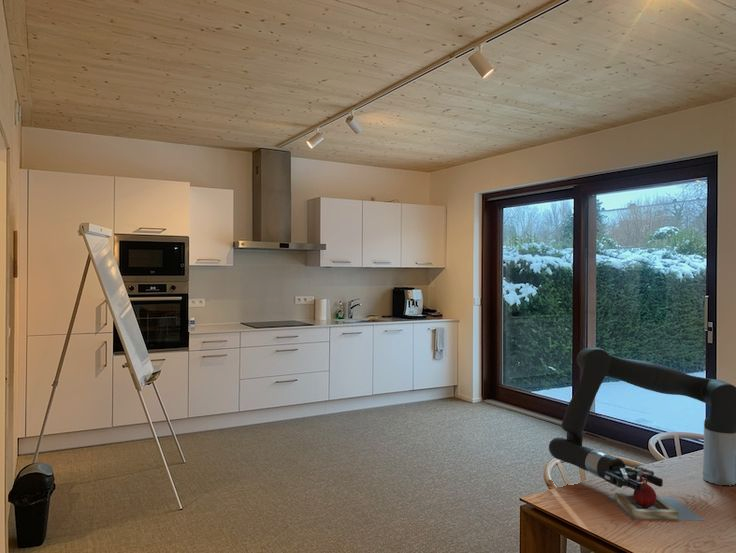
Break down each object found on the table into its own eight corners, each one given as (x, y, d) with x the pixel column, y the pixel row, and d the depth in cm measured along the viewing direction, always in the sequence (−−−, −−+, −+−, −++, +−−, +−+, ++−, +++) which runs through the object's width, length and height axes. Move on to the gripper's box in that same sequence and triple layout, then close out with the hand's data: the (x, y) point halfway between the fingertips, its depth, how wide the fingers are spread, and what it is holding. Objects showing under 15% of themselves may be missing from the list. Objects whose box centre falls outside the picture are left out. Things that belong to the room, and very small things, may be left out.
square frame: (654, 500, 161) (655, 493, 161) (678, 519, 149) (678, 511, 149) (614, 499, 161) (614, 493, 161) (634, 518, 149) (634, 511, 149)
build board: (673, 502, 164) (673, 497, 164) (704, 525, 149) (704, 520, 149) (607, 501, 164) (607, 496, 164) (631, 524, 149) (631, 519, 149)
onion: (658, 514, 152) (659, 485, 152) (636, 512, 153) (636, 483, 153) (652, 505, 157) (652, 478, 157) (631, 503, 159) (631, 476, 159)
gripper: (588, 457, 165) (634, 475, 150) (621, 451, 171) (669, 468, 156) (587, 481, 165) (633, 502, 150) (620, 475, 171) (668, 494, 156)
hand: (651, 485), depth 153 cm, fingers open, 8 cm apart
